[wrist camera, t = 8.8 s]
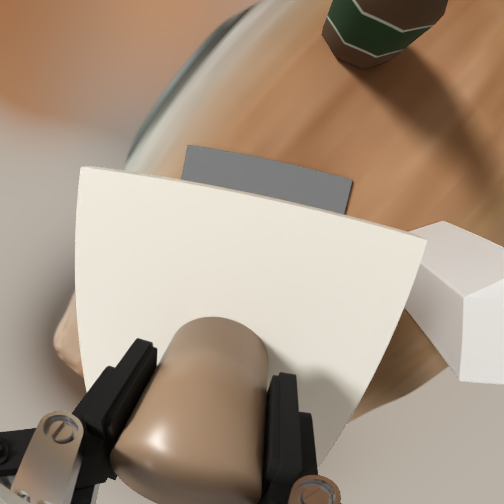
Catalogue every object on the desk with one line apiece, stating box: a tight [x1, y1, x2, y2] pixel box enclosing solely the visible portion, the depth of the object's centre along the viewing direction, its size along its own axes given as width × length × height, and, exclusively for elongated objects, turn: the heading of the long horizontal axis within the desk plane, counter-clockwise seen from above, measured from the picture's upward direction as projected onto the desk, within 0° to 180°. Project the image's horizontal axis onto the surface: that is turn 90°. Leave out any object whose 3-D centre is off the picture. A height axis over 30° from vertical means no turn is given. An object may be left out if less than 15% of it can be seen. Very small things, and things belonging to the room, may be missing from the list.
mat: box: [181, 145, 352, 215], centre depth 30 cm, size 16×16×1 cm
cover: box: [75, 166, 427, 504], centre depth 9 cm, size 13×13×7 cm
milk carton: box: [404, 221, 504, 384], centre depth 20 cm, size 7×7×19 cm
